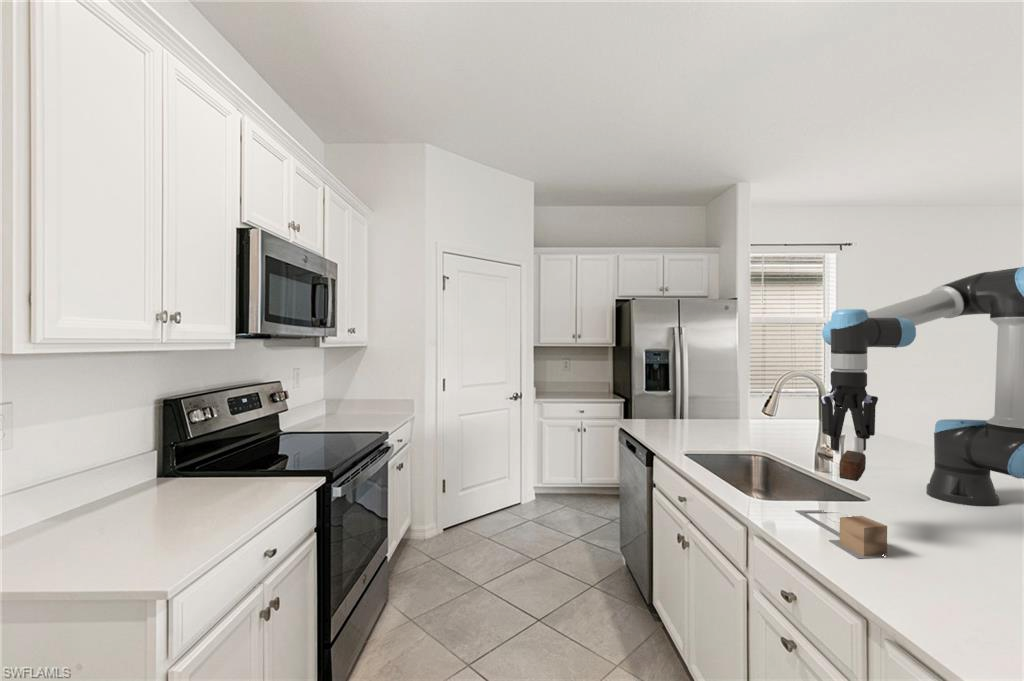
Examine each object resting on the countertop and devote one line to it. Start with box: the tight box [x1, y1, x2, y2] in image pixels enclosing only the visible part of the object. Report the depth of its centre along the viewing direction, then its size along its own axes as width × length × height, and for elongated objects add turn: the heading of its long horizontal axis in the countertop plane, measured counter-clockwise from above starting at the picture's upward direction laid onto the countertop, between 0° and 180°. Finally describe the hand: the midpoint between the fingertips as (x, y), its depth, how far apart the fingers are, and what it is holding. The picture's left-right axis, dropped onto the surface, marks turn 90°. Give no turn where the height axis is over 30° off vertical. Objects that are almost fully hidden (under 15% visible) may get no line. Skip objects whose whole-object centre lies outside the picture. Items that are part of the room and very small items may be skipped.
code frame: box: [794, 509, 840, 538], centre depth 120 cm, size 13×17×1 cm
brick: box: [838, 450, 867, 482], centre depth 114 cm, size 11×4×5 cm, turn 136°
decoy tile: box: [828, 539, 886, 560], centre depth 105 cm, size 9×9×1 cm
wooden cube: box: [839, 515, 888, 556], centre depth 105 cm, size 6×6×6 cm
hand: (848, 463), depth 119 cm, fingers closed on brick, 4 cm apart
